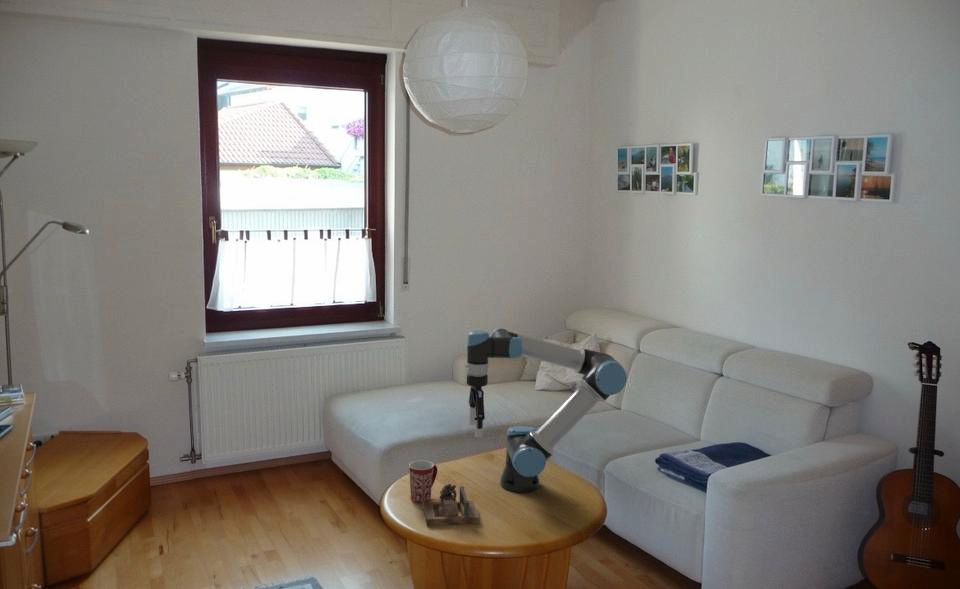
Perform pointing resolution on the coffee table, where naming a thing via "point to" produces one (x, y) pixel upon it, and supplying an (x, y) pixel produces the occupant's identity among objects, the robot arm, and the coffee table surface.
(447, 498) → the figurine
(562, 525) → the coffee table surface
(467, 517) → the wooden stand
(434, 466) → the mug
